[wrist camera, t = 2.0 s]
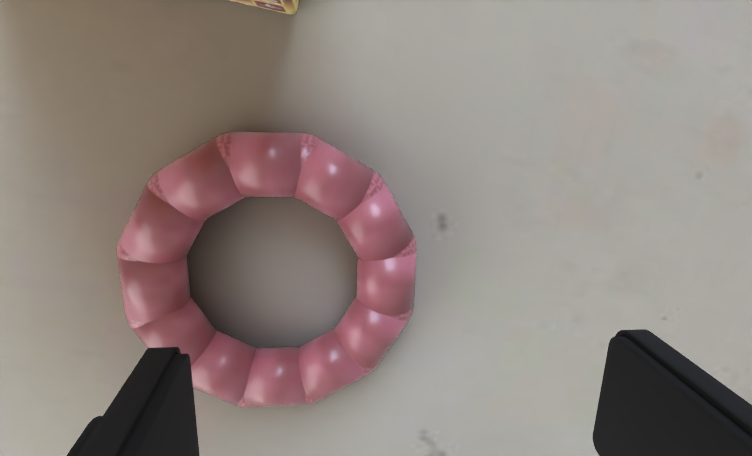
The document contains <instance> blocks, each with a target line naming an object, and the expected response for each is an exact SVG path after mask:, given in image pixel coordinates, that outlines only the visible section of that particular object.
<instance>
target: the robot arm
mask: <svg viewBox="0 0 752 456" xmlns="http://www.w3.org/2000/svg"><path fill="white" fill-rule="evenodd" d="M593 442H594V446H595V449H596V451H597V452H598V454H599V455H600V456H752V405H751V404H749V403H748V402H747V401H745V400H744V399H742V398H741V397H740V396H738V395H737V394H736V393H734V392H733V391H731V390H730V389H729V388H727V387H726V386H725V385H723V384H722V383H720V382H719V381H718V380H716V379H715V378H713V377H712V376H711V375H709V374H708V373H707V372H705V371H704V370H702V369H701V368H700V367H698V366H697V365H696V364H694V363H693V362H691V361H690V360H689V359H687V358H686V357H684V356H683V355H682V354H680V353H679V352H678V351H676V350H675V349H673V348H672V347H671V346H669V345H668V344H667V343H665V342H664V341H662V340H661V339H660V338H658V337H657V336H655V335H654V334H653V333H651V332H650V331H648V330H621V331H619V332H618V333H617V334H616V336H615V337H613V338H612V339H611V340H610V342H609V347H608V352H607V358H606V364H605V369H604V375H603V381H602V386H601V392H600V398H599V403H598V409H597V415H596V420H595V426H594V431H593ZM67 456H199V447H198V436H197V426H196V415H195V404H194V394H193V383H192V372H191V362H190V356H189V354H188V353H186V354H181V351H180V349H179V347H158V348H148V349H147V350H146V352H145V353H144V355H143V356H142V358H141V359H140V361H139V362H138V364H137V365H136V367H135V368H134V370H133V371H132V373H131V374H130V376H129V377H128V379H127V380H126V382H125V384H124V385H123V387H122V388H121V390H120V391H119V393H118V394H117V396H116V397H115V399H114V400H113V402H112V403H111V405H110V406H109V408H108V409H107V411H106V412H105V414H104V415H103V416H98V417H96V418H93V420H92V421H91V422H90V423H89V424H88V425H87V427H86V428H85V430H84V431H83V433H82V434H81V436H80V437H79V438H78V440H77V441H76V443H75V444H74V446H73V447H72V449H71V450H70V452H69V453H68V454H67Z"/></svg>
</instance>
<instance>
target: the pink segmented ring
mask: <svg viewBox="0 0 752 456" xmlns="http://www.w3.org/2000/svg"><path fill="white" fill-rule="evenodd" d="M245 197H295V198H297V199H299V200H301V201H302V202H304V203H306V204H308V205H310V206H311V207H313V208H315V209H317V210H319V211H321V212H322V213H324V214H326V215H328V216H330V217H331V218H333V219H335V220H336V221H337V223H338V225H339V226H340V228H341V230H342V231H343V233H344V235H345V236H346V238H347V240H348V241H349V243H350V245H351V246H352V248H353V250H354V251H355V253H356V255H357V295H356V296H355V298H354V300H353V301H352V303H351V304H350V306H349V308H348V309H347V311H346V312H345V314H344V315H343V317H342V319H341V320H340V322H339V323H338V325H337V326H336V327H335V328H333V329H332V330H330V331H328V332H326V333H324V334H322V335H321V336H319V337H317V338H315V339H313V340H311V341H310V342H308V343H306V344H304V345H302V346H300V347H277V348H255V347H252V346H250V345H248V344H246V343H244V342H241V341H239V340H237V339H235V338H233V337H230V336H228V335H226V334H224V333H222V332H220V331H217V330H216V329H215V328H214V327H213V325H212V324H211V323H210V322H209V320H208V319H207V318H206V316H205V315H204V314H203V312H202V311H201V310H200V308H199V307H198V306H197V304H196V303H195V302H194V300H193V299H192V298H191V296H190V288H189V277H188V266H187V254H188V252H189V250H190V248H191V246H192V245H193V243H194V241H195V239H196V237H197V235H198V233H199V231H200V230H201V228H202V226H203V224H204V222H205V220H206V219H208V218H209V217H211V216H213V215H215V214H216V213H218V212H220V211H222V210H223V209H225V208H227V207H229V206H231V205H232V204H234V203H236V202H238V201H239V200H241V199H243V198H245ZM416 253H417V245H416V240H415V237H414V235H413V233H412V231H411V229H410V227H409V225H408V224H407V222H406V220H405V218H404V216H403V214H402V213H401V211H400V209H399V207H398V205H397V203H396V202H395V200H394V198H393V196H392V194H391V193H390V191H389V189H388V187H387V185H386V183H385V182H384V180H383V179H382V177H381V176H380V175H379V174H378V173H376V172H375V171H374V170H372V169H370V168H369V167H367V166H365V165H364V164H362V163H360V162H359V161H357V160H355V159H353V158H352V157H350V156H348V155H347V154H345V153H343V152H342V151H340V150H338V149H337V148H335V147H333V146H332V145H330V144H328V143H326V142H325V141H323V140H321V139H320V138H318V137H316V136H314V135H311V134H307V133H274V132H228V133H224V134H221V135H219V136H217V137H215V138H214V139H212V140H210V141H208V142H207V143H205V144H203V145H201V146H200V147H198V148H196V149H194V150H193V151H191V152H189V153H188V154H186V155H184V156H182V157H181V158H179V159H177V160H175V161H174V162H172V163H170V164H168V165H167V166H165V167H163V168H161V169H160V170H158V171H157V172H156V173H155V174H154V175H153V176H152V177H151V178H150V179H149V181H148V183H147V185H146V187H145V189H144V191H143V193H142V195H141V197H140V199H139V201H138V203H137V205H136V207H135V209H134V211H133V213H132V215H131V217H130V219H129V221H128V223H127V225H126V227H125V229H124V231H123V233H122V235H121V237H120V239H119V242H118V245H117V258H118V265H119V273H120V280H121V287H122V294H123V302H124V309H125V315H126V319H127V322H128V324H129V325H130V327H131V328H132V329H133V331H134V332H135V333H136V334H137V335H138V337H139V338H140V339H141V340H142V342H143V343H144V344H145V345H146V346H147V348H158V347H179V349H180V351H181V354H186V353H188V354H189V356H190V362H191V372H192V383H193V388H196V389H198V390H200V391H203V392H205V393H207V394H210V395H212V396H214V397H217V398H219V399H222V400H224V401H226V402H229V403H231V404H233V405H236V406H240V407H266V406H288V405H307V404H313V403H315V402H318V401H320V400H322V399H323V398H325V397H327V396H329V395H331V394H333V393H335V392H336V391H338V390H340V389H342V388H344V387H346V386H348V385H349V384H351V383H353V382H355V381H357V380H359V379H361V378H363V377H364V376H366V375H368V374H370V373H371V372H373V371H374V370H375V369H376V367H377V366H378V365H379V364H380V362H381V361H382V359H383V358H384V356H385V355H386V353H387V352H388V350H389V349H390V347H391V346H392V344H393V343H394V341H395V340H396V338H397V337H398V335H399V334H400V332H401V331H402V329H403V328H404V326H405V325H406V323H407V322H408V320H409V319H410V317H411V315H412V312H413V307H414V291H415V272H416Z"/></svg>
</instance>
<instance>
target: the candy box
mask: <svg viewBox="0 0 752 456" xmlns="http://www.w3.org/2000/svg"><path fill="white" fill-rule="evenodd" d="M229 1H234V2H238V3H242V4H247V5H251V6H256V7H260V8H264V9H268V10H273V11H277V12H281V13H285V14H295V13H296V12H297V9H298V2H299V0H229Z"/></svg>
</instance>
